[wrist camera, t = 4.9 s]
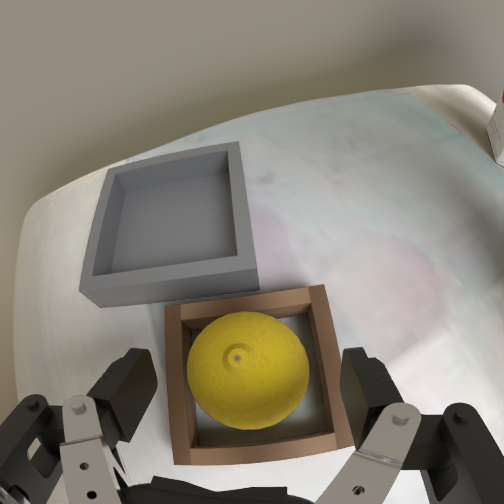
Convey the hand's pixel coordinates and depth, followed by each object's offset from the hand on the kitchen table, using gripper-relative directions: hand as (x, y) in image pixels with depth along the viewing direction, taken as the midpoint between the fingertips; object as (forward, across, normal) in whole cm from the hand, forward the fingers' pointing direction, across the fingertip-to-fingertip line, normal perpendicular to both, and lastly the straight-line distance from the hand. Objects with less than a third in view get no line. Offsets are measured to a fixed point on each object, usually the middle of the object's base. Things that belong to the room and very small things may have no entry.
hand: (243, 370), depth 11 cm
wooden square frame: (+4, 0, +4) cm, 6 cm away
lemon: (+4, 0, +4) cm, 6 cm away
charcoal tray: (+12, +6, -4) cm, 14 cm away
